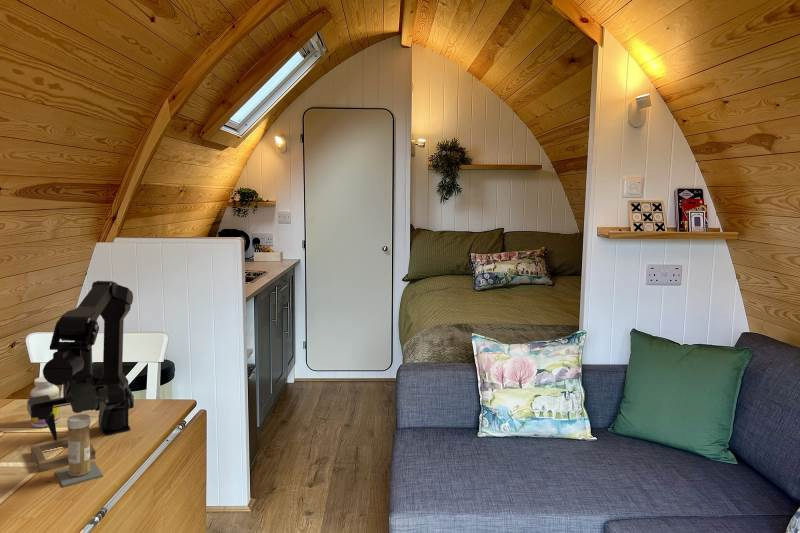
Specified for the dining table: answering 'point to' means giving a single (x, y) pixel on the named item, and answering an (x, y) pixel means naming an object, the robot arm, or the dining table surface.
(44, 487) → the dining table surface
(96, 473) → the grey flat square slab
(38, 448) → the walnut collar stand
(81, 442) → the sprinkles bottle
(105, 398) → the robot arm
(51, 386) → the supplement bottle
